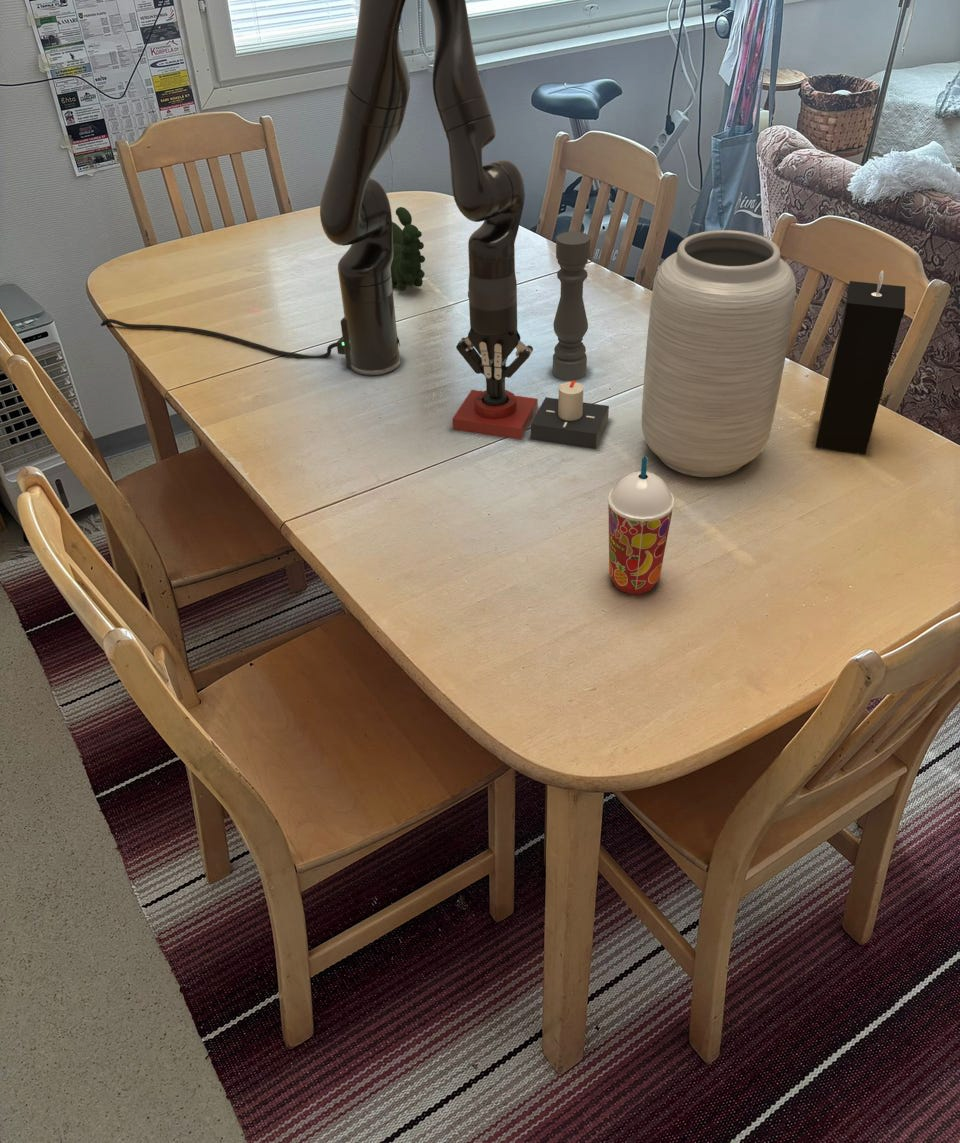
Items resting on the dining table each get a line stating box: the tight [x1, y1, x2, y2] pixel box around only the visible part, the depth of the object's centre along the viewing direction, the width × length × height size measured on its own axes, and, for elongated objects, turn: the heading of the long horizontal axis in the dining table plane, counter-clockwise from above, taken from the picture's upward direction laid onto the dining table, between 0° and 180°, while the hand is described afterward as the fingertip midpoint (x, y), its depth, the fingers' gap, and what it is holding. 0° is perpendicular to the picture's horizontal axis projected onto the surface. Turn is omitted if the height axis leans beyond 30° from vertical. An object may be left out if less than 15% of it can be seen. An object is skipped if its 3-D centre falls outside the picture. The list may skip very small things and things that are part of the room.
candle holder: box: [552, 231, 591, 382], centre depth 168 cm, size 6×6×25 cm
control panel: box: [530, 396, 610, 450], centre depth 160 cm, size 11×9×3 cm
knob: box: [557, 380, 584, 421], centre depth 158 cm, size 4×4×5 cm
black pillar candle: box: [814, 270, 907, 455], centre depth 147 cm, size 8×8×28 cm
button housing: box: [452, 389, 539, 441], centre depth 163 cm, size 12×10×4 cm
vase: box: [641, 229, 797, 478], centre depth 144 cm, size 20×20×34 cm
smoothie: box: [607, 456, 676, 595], centre depth 125 cm, size 8×8×20 cm
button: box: [483, 392, 507, 406], centre depth 162 cm, size 4×4×2 cm
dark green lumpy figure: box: [391, 206, 426, 292], centre depth 205 cm, size 9×19×25 cm
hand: (495, 395), depth 162 cm, fingers closed
